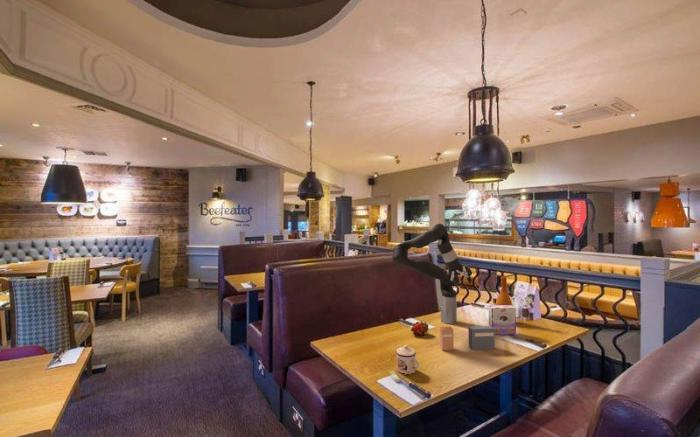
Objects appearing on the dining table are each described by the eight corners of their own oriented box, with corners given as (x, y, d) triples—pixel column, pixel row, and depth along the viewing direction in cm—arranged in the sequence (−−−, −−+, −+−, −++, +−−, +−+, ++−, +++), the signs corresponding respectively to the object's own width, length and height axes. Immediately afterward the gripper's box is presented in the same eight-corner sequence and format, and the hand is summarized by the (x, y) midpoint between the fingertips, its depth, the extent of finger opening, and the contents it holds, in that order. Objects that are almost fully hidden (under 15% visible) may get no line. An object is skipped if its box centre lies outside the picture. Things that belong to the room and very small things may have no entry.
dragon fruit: (430, 336, 195) (412, 341, 192) (423, 324, 201) (406, 329, 198) (433, 328, 189) (415, 333, 186) (426, 316, 196) (408, 321, 193)
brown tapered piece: (515, 324, 207) (515, 277, 206) (500, 324, 207) (499, 278, 206) (508, 319, 216) (507, 274, 216) (493, 319, 217) (492, 275, 216)
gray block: (471, 349, 171) (471, 329, 171) (468, 346, 175) (468, 326, 175) (494, 349, 172) (494, 328, 171) (491, 345, 176) (490, 325, 175)
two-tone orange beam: (442, 350, 171) (442, 329, 171) (440, 347, 175) (439, 327, 175) (453, 350, 171) (453, 329, 171) (451, 346, 175) (450, 326, 175)
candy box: (512, 331, 195) (512, 304, 194) (516, 335, 189) (516, 307, 189) (488, 331, 196) (488, 304, 196) (491, 335, 190) (491, 307, 190)
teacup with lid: (392, 369, 152) (391, 345, 152) (405, 363, 158) (405, 340, 157) (411, 379, 143) (411, 353, 142) (425, 373, 148) (424, 348, 148)
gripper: (436, 264, 179) (449, 290, 180) (460, 258, 170) (474, 285, 171) (441, 258, 184) (453, 283, 186) (464, 252, 176) (477, 278, 177)
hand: (463, 284), depth 178 cm, fingers open, 8 cm apart
